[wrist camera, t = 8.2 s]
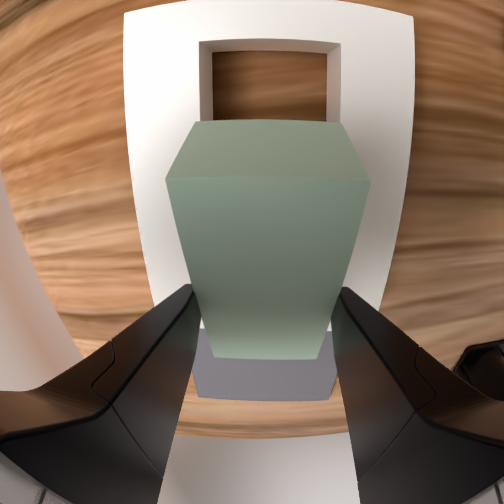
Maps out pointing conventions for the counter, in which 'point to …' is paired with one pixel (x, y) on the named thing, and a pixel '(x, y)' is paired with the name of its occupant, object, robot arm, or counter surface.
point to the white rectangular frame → (337, 109)
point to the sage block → (267, 230)
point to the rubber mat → (264, 375)
